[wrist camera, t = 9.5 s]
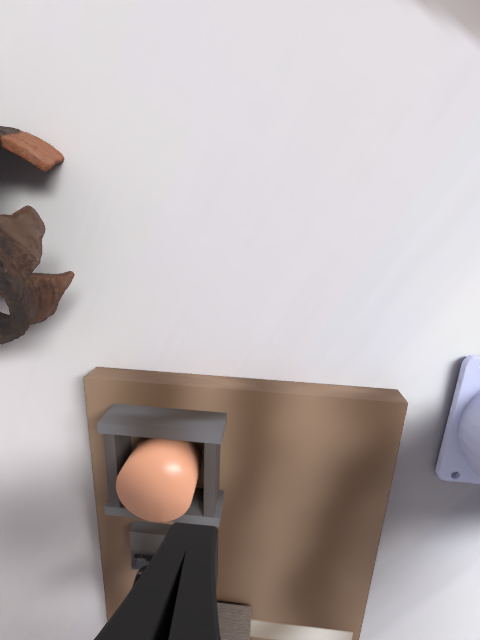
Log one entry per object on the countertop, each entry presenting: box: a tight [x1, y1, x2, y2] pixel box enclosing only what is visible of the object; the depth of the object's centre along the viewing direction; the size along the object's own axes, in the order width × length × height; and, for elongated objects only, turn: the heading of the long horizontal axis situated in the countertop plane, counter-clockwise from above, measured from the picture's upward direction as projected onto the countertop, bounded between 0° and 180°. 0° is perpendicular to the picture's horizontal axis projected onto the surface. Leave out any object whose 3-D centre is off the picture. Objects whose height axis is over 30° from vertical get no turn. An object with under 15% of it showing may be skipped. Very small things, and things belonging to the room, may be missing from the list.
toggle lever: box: [131, 554, 153, 587], centre depth 18 cm, size 2×2×6 cm
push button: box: [116, 437, 202, 522], centre depth 18 cm, size 4×4×2 cm
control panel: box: [84, 367, 408, 640], centre depth 21 cm, size 18×23×4 cm
